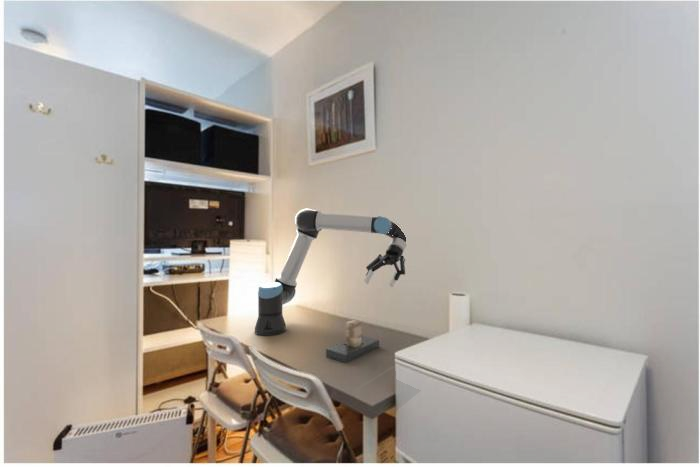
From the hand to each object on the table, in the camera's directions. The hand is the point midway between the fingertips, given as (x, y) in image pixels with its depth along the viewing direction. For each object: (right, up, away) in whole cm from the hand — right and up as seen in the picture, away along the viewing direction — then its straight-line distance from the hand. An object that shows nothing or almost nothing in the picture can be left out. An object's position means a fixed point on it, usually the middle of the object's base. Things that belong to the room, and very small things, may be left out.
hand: (378, 283), depth 142 cm
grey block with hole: (-11, -25, -13) cm, 31 cm away
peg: (-11, -26, -13) cm, 31 cm away
